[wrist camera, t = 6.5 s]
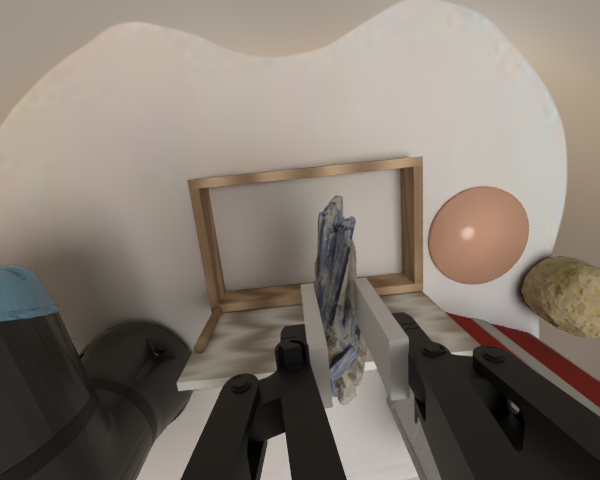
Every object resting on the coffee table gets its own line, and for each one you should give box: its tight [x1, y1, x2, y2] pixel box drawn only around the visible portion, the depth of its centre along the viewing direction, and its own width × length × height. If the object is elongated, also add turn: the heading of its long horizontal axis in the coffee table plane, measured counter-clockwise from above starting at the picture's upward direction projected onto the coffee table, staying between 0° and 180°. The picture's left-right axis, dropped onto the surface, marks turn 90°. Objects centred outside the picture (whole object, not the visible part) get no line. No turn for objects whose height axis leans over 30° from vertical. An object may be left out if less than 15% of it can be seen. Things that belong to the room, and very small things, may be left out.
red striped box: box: [387, 312, 600, 480], centre depth 31 cm, size 16×18×27 cm
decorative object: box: [520, 256, 600, 339], centre depth 38 cm, size 9×10×10 cm
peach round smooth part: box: [428, 187, 529, 284], centre depth 40 cm, size 13×13×1 cm
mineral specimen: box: [315, 196, 368, 405], centre depth 21 cm, size 15×8×4 cm
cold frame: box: [177, 156, 481, 391], centre depth 31 cm, size 26×17×16 cm, turn 96°
